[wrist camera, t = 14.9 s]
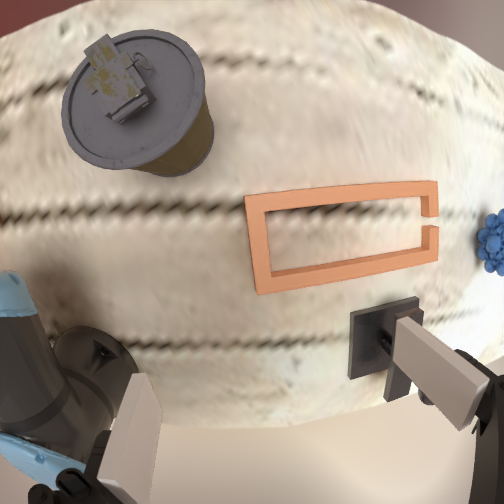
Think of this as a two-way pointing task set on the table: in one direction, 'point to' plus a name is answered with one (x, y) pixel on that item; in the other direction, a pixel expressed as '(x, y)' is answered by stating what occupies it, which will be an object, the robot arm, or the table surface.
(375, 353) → the stand
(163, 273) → the table surface
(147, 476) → the robot arm
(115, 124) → the canister
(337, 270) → the link
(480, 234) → the grapes
